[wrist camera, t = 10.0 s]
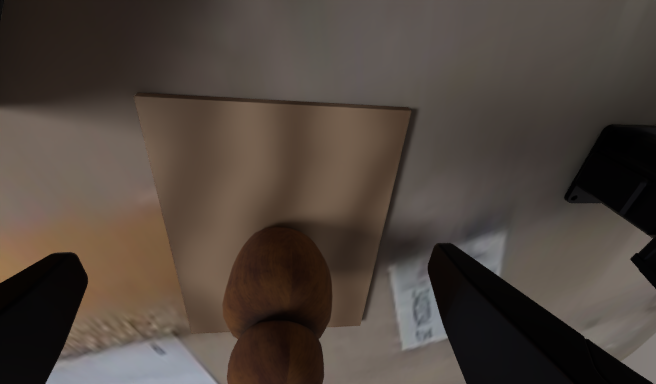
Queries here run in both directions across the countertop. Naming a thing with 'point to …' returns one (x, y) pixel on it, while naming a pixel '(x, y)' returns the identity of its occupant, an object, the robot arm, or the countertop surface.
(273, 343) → the wooden figurine
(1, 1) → the ammunition clip
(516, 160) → the countertop surface
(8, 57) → the countertop surface
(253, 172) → the light brown wooden board
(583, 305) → the countertop surface
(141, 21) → the countertop surface
